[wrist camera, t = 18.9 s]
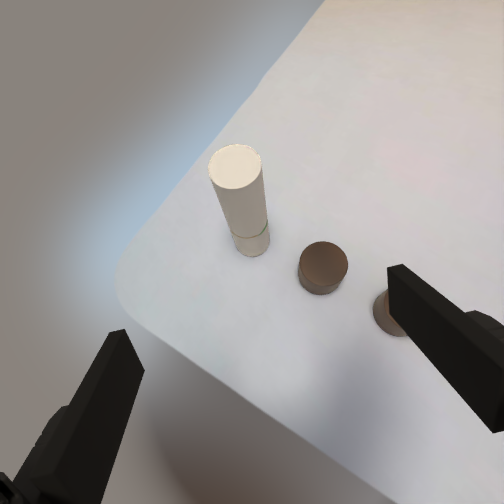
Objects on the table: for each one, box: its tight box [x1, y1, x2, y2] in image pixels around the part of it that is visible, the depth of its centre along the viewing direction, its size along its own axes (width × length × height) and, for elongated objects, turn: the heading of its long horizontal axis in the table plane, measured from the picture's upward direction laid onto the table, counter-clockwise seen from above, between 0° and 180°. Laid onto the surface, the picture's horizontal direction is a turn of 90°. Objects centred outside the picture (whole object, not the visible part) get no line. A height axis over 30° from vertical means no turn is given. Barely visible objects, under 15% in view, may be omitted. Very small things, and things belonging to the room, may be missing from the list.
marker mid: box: [298, 242, 348, 295], centre depth 34 cm, size 5×5×4 cm
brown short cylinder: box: [373, 289, 407, 336], centre depth 31 cm, size 5×5×4 cm
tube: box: [208, 144, 270, 257], centre depth 31 cm, size 4×4×15 cm
